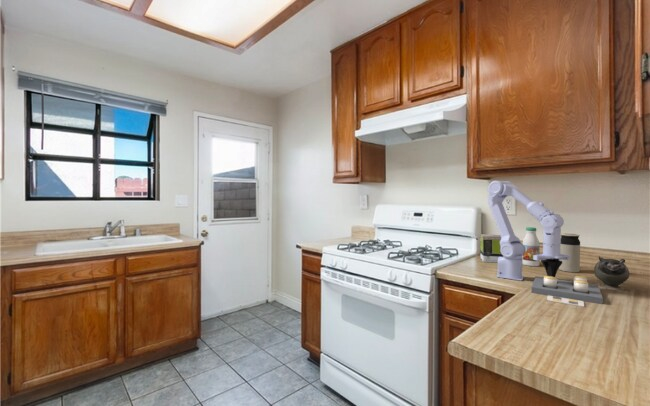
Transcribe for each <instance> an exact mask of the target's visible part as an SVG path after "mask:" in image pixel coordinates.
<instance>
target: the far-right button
mask: <svg viewBox="0 0 650 406" xmlns="http://www.w3.org/2000/svg"><path fill="white" fill-rule="evenodd" d="M572 280H573V284H574V281H575V280H583V281H587V282H588V278H587V276H585V275H581V274H574V275H573V279H572Z"/></svg>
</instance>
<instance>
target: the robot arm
mask: <svg viewBox="0 0 650 406" xmlns="http://www.w3.org/2000/svg"><path fill="white" fill-rule="evenodd" d="M486 190H487V192H488V193H487V194H488V196H487V204H488V206H489V209H490V211H491V214H492V217H493V220H494V222H495V224H496V227H497V230H498V232H499V235H501V241H500V246H501V249H500V251H501V254H502V255H503V257H498V263H497V270H496V271H497V274H496V277H497V278H502V279H508V280H514V281H523V280H524V278H525V276H524V275H523V264H522V255H524V254H525V251H526V249H525V246H524V245H523V244H522V243H523V242H521V240H520V238H519V237H518V236H516V234H515V231H514V229H513V227H512V224H511V222H510V220H509V216H508V214H507V212H506V209H505V207H504V204H503V203H504V200H505V199H506V198H507V197H508V196H510V197H513V198H514V199H515V200H516V201H518V202H519V203H521V204H522V205H523V206H525V207H526V212H527V213H529V214H530V215H531V216H532V217H534V218H535V219H536V220H537V221H538V222H539V223H540V225H541V227H542V229H543V230H542V231H543V232H542V233H543V234H542V235H543V237H542V253H540V254H539V255H533V260H537V261H539V262H541V263H542V265H543V267H544V270H545V272H546V276H552V277H556V275H557V273H558V270H559V267H560V266H561V264H562V261H559V260H570V255H567V254H560V253H561V233H562V232H561V231H562V229H561V227H563V225H564V221H565V220H564V218H563V217H562V216H561V215H560V214H558V213H555V212H554V210H550V209H549V208H547V207H546V206H545V203H544V202H543V201H534V200H532V199H531V198H530V197H529V196H527V194H525V193H524V192H523V191H522V190H521V189H520V188H518V187H517V186H516V185H515V184H513V183H512V182H511V181H509V180H505V181H504V180H503V181H501V180H493V181H491V182H490V183H489V185H488V187H487V189H486Z"/></svg>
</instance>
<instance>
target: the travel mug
mask: <svg viewBox="0 0 650 406" xmlns="http://www.w3.org/2000/svg"><path fill="white" fill-rule="evenodd" d="M579 238H580V234H577V233H566V232H565V233H562V232H561V253H560V254H567V255H570V260H559V261H562V264H561V266H560V267H559V268H558V270H560V271H562V272H567V273H578V272H580V269H581V268H580V266H581V265H580V263H581V240H580V239H579Z"/></svg>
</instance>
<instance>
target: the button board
mask: <svg viewBox="0 0 650 406" xmlns="http://www.w3.org/2000/svg"><path fill="white" fill-rule="evenodd" d="M530 289H531V291H530V292H531V293H533V294H538V295H545V296H548V295H549V296H555V297H561V298H567V299H573V300H579V301H584V302H587V303H588V302H589V303H593V304H594V303H595V304H601V305H603V301H604V300H603V299H604V298H603V295H602V292H601V290H600V287H599V285H598V284H594V283H588V292H579V291H575V290H574V284H573V281H572V280H564V279H558V278H557V287H555V288H552V287H546V286H544V276H535V278H534V280H533V282H532V285H531V288H530Z"/></svg>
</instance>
